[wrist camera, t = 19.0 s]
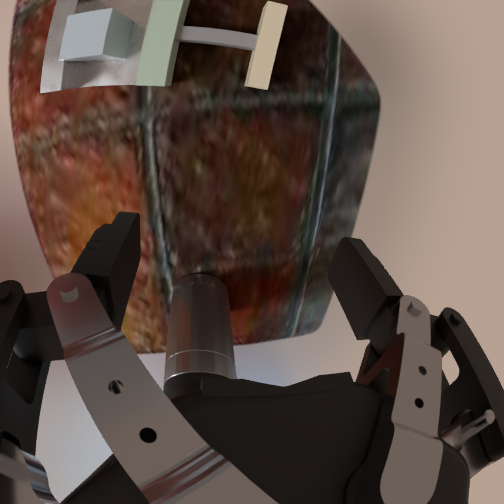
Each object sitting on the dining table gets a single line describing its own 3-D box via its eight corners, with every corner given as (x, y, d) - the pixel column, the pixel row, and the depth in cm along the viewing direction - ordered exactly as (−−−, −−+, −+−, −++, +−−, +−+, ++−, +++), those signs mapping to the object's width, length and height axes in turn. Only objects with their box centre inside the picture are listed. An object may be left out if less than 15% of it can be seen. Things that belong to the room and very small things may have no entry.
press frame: (167, 85, 25) (156, 85, 21) (64, 88, 22) (40, 93, 18) (187, -4, 19) (181, -20, 14) (80, 5, 16) (58, -4, 11)
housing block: (125, 58, 22) (102, 54, 16) (87, 61, 21) (58, 60, 15) (133, 21, 19) (112, 7, 13) (94, 25, 18) (67, 15, 12)
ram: (259, 97, 27) (265, 98, 24) (145, 84, 24) (135, 85, 21) (281, 7, 20) (289, -2, 17) (165, -7, 17) (159, -18, 14)
